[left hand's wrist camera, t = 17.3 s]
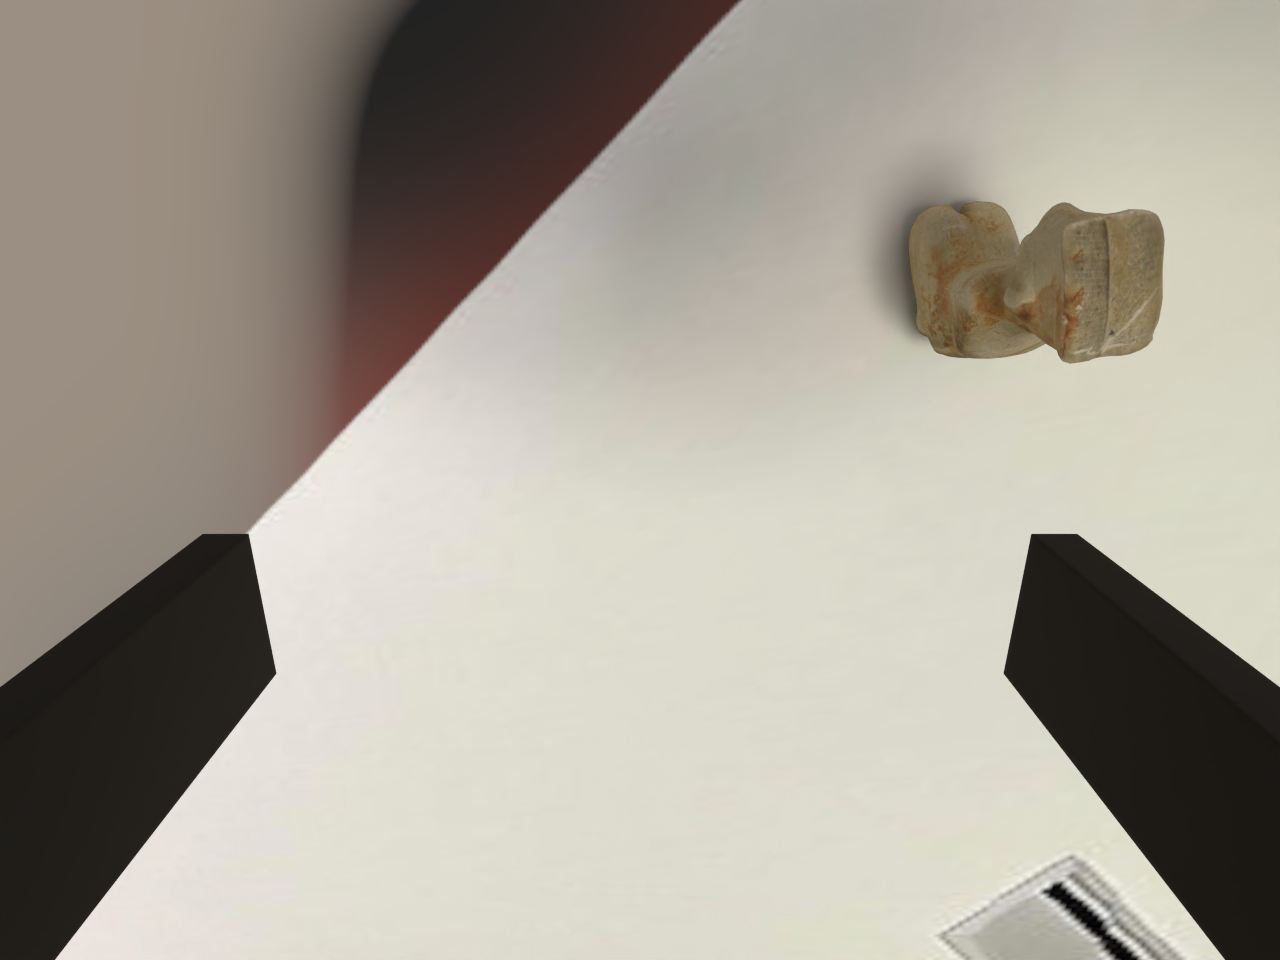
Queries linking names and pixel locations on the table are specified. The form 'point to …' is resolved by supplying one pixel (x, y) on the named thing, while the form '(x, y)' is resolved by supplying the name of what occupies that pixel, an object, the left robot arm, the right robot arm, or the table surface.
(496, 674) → the table surface
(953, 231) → the sculpture
